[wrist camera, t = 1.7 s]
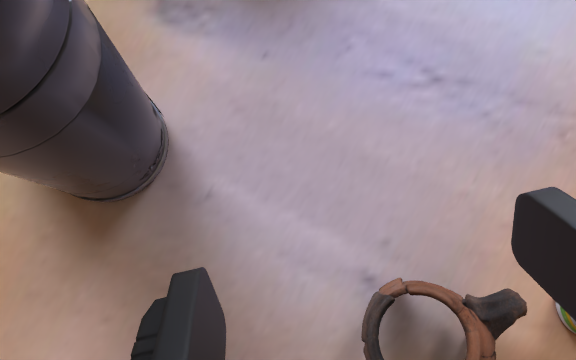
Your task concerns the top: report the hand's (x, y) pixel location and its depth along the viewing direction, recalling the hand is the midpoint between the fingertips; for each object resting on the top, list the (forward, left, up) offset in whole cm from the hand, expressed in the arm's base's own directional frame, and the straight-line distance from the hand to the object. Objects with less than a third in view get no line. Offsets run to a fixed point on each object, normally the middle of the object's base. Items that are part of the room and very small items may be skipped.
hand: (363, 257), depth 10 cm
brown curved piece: (+13, -2, -21) cm, 25 cm away
